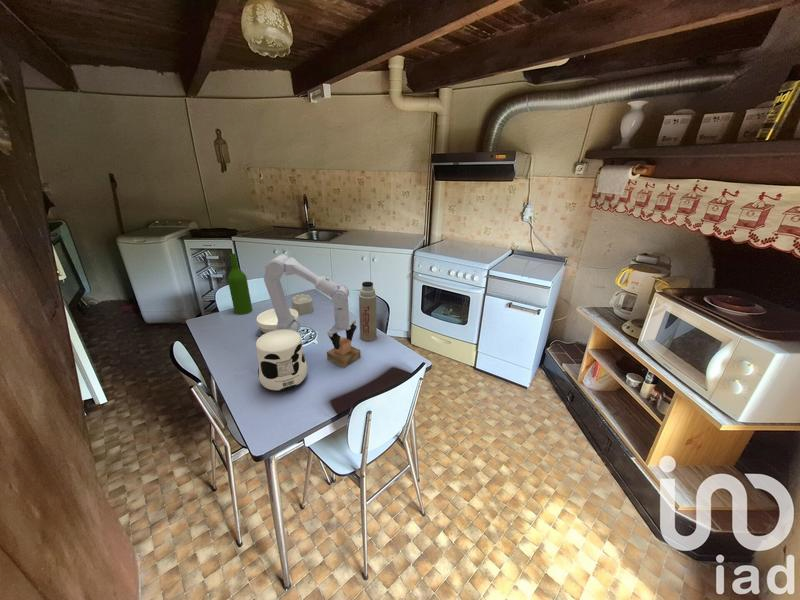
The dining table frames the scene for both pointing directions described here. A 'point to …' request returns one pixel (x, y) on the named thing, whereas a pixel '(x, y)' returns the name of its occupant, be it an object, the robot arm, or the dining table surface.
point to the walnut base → (343, 357)
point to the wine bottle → (239, 288)
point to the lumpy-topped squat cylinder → (302, 304)
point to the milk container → (281, 360)
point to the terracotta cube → (343, 346)
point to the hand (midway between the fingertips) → (343, 344)
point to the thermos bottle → (367, 312)
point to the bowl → (271, 320)
